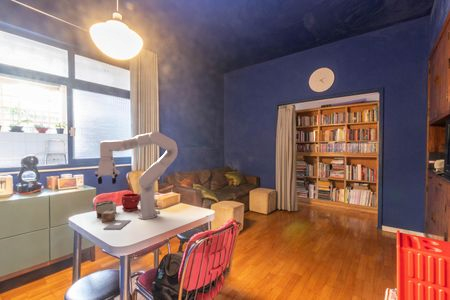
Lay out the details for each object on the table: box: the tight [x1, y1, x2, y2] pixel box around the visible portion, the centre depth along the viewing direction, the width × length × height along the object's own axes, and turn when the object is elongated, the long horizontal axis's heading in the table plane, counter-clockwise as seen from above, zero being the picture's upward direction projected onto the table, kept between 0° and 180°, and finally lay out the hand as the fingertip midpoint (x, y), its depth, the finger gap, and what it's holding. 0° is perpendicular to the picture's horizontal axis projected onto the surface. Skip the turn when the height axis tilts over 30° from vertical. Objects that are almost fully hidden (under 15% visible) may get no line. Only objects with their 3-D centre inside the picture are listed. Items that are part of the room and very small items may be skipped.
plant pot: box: [121, 193, 140, 212], centre depth 171 cm, size 13×13×12 cm
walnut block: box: [101, 211, 116, 223], centre depth 145 cm, size 6×6×6 cm
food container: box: [94, 200, 114, 219], centre depth 156 cm, size 12×6×10 cm, turn 146°
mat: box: [103, 219, 132, 230], centre depth 137 cm, size 10×15×1 cm, turn 1°
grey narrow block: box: [112, 202, 117, 214], centre depth 163 cm, size 6×6×7 cm
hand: (107, 183), depth 148 cm, fingers open, 9 cm apart
